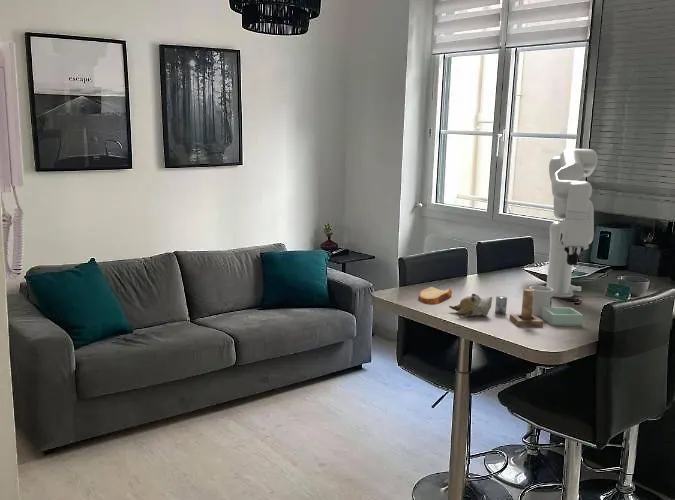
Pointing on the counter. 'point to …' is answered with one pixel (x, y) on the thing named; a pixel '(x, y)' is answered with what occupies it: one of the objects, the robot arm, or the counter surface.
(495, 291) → the counter surface
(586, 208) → the robot arm
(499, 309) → the bench dog
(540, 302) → the mug
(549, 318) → the tray
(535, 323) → the socket block
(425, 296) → the slice of bread
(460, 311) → the ceramic sculpture
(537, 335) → the counter surface
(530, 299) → the dowel
